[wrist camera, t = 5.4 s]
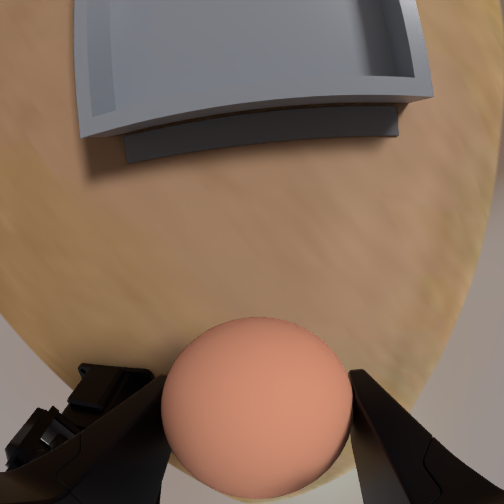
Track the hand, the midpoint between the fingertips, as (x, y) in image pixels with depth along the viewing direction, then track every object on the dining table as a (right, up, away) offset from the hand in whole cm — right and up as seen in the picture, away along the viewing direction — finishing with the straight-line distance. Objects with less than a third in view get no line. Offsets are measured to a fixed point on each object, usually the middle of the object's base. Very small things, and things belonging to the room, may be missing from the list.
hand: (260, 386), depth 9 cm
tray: (-1, +18, +3) cm, 18 cm away
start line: (0, +10, +6) cm, 12 cm away
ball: (0, 0, -1) cm, 1 cm away
